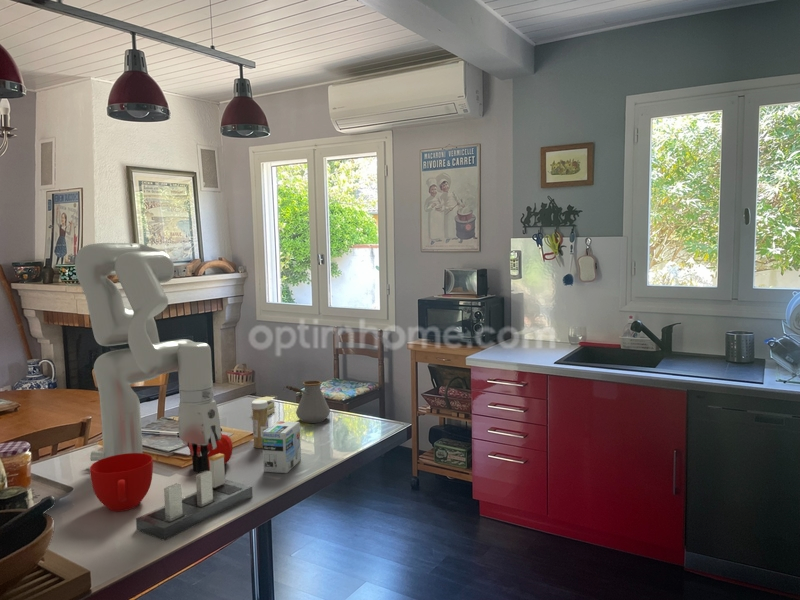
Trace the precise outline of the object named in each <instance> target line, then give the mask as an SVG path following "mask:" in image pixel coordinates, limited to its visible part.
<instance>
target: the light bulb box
mask: <svg viewBox="0 0 800 600" xmlns="http://www.w3.org/2000/svg"><path fill="white" fill-rule="evenodd" d="M262 439H263V448H262V455H263V456H262V457H263V462H262V463H263V472H264V473H278V474H279V473H280V474H288V472H290V471H291V470H292V469H293V468H294V467H295V466H296V465H297V464H299V463H300V462H301V460H302V446H301V423H300V421H288V420H287V421H285V420H277V421H276V422H274V423H273V424H272V425H270V426H268V428H267V429H266V430H265V431H263V432H262Z"/></svg>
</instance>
